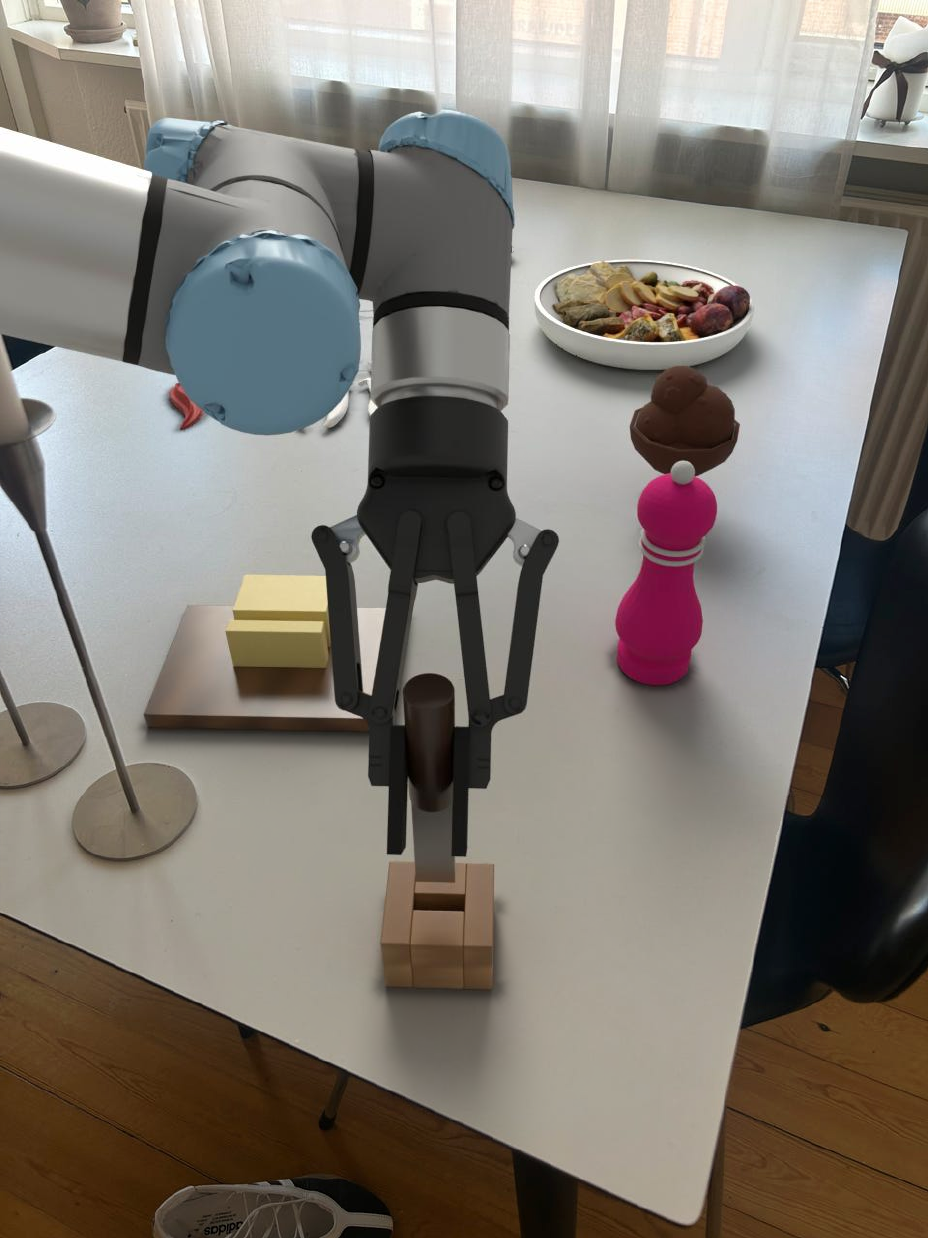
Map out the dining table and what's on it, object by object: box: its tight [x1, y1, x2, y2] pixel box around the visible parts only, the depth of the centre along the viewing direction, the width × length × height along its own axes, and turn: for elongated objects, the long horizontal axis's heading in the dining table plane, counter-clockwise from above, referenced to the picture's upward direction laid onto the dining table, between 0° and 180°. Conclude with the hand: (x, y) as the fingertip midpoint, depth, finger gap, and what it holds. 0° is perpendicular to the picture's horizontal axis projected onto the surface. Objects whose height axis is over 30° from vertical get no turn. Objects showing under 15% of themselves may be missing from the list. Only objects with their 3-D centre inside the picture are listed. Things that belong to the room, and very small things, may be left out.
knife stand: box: [379, 860, 495, 991], centre depth 62 cm, size 7×6×5 cm
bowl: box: [533, 259, 755, 371], centre depth 134 cm, size 30×30×8 cm
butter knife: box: [402, 672, 456, 883], centre depth 53 cm, size 3×3×16 cm
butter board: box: [143, 604, 386, 732], centre depth 83 cm, size 20×14×2 cm
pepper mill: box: [614, 461, 718, 686], centre depth 78 cm, size 7×7×20 cm
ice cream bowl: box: [629, 366, 741, 477], centre depth 98 cm, size 11×11×15 cm
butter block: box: [232, 574, 331, 647], centre depth 84 cm, size 8×5×4 cm, turn 88°
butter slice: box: [225, 620, 329, 668], centre depth 81 cm, size 8×2×4 cm, turn 88°
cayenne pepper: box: [168, 382, 204, 430], centre depth 120 cm, size 12×5×2 cm, turn 6°
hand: (428, 850), depth 50 cm, fingers closed on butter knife, 3 cm apart
